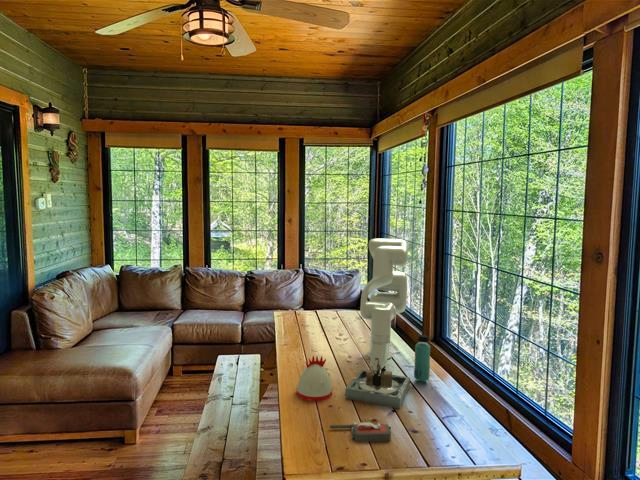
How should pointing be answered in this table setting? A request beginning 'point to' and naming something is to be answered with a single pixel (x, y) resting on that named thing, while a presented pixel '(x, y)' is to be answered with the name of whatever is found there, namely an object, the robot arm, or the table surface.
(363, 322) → the table surface
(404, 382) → the dial housing
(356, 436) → the walkie-talkie
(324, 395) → the kitchen timer
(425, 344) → the beverage bottle
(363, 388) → the dial
